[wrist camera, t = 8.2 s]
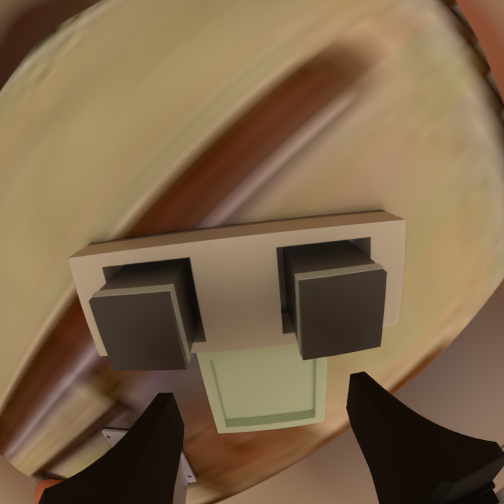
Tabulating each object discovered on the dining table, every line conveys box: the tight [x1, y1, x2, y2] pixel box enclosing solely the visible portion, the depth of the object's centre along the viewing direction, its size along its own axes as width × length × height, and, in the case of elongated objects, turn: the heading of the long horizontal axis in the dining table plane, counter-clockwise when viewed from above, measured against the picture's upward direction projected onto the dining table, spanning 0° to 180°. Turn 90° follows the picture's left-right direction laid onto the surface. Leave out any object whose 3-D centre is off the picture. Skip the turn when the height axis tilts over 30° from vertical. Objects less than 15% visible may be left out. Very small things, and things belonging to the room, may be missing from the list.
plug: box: [283, 239, 387, 360], centre depth 17 cm, size 4×4×6 cm
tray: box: [197, 343, 328, 433], centre depth 22 cm, size 9×9×2 cm
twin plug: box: [89, 257, 200, 370], centre depth 17 cm, size 4×4×6 cm
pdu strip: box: [68, 210, 406, 356], centre depth 19 cm, size 7×20×3 cm, turn 96°
